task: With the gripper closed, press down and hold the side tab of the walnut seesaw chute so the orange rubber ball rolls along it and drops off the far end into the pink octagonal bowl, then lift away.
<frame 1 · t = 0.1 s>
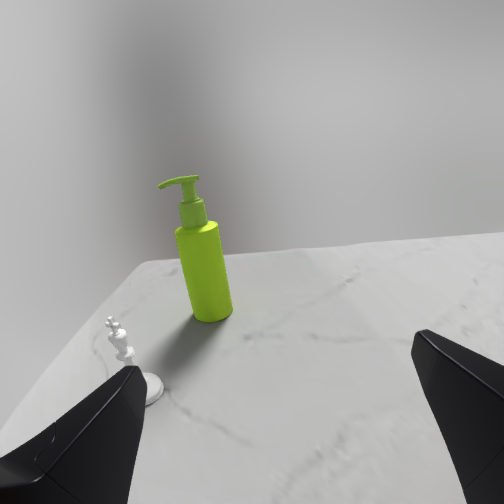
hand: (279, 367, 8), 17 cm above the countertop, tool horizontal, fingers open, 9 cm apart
chess piece: (143, 392, 29), on the countertop
soap dispenser: (210, 313, 43), on the countertop
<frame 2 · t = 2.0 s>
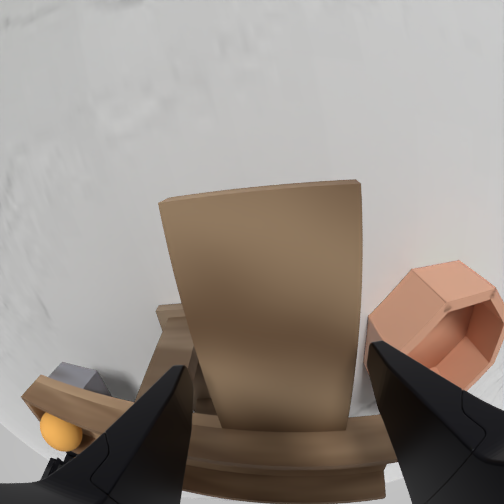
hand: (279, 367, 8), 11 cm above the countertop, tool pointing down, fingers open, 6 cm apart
stand: (201, 361, 22), on the countertop
ball: (61, 430, 15), point 8 cm above the countertop, tilted 8°, touching lever
pink octagonal bowl: (426, 326, 21), on the countertop
lever: (155, 384, 13), point 8 cm above the countertop, hinge at -10.1°, touching ball
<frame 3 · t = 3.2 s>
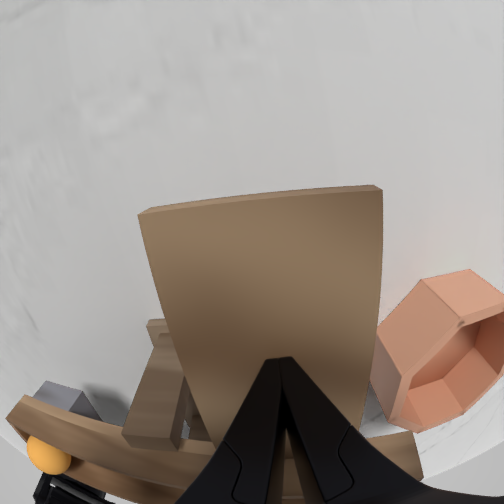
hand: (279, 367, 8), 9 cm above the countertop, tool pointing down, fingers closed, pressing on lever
stand: (196, 377, 20), on the countertop
ball: (48, 452, 12), point 9 cm above the countertop, touching lever
pink octagonal bowl: (434, 338, 20), on the countertop
lever: (144, 411, 11), point 8 cm above the countertop, hinge at -7.8°, touching ball, gripper
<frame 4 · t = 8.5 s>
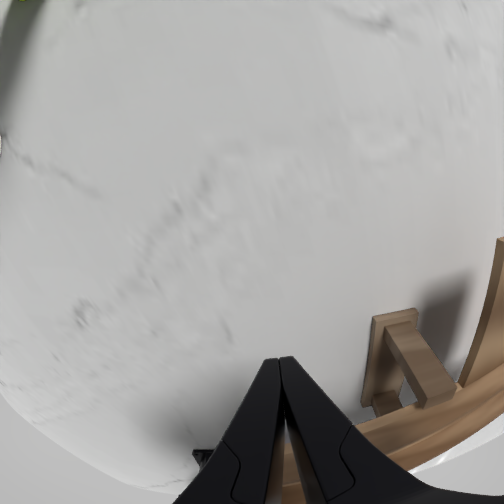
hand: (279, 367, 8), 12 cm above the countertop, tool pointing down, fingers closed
stand: (386, 360, 24), on the countertop
lever: (439, 376, 14), point 8 cm above the countertop, hinge at 6.6°
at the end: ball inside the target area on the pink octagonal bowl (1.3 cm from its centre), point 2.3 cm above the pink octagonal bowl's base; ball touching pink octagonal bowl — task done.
